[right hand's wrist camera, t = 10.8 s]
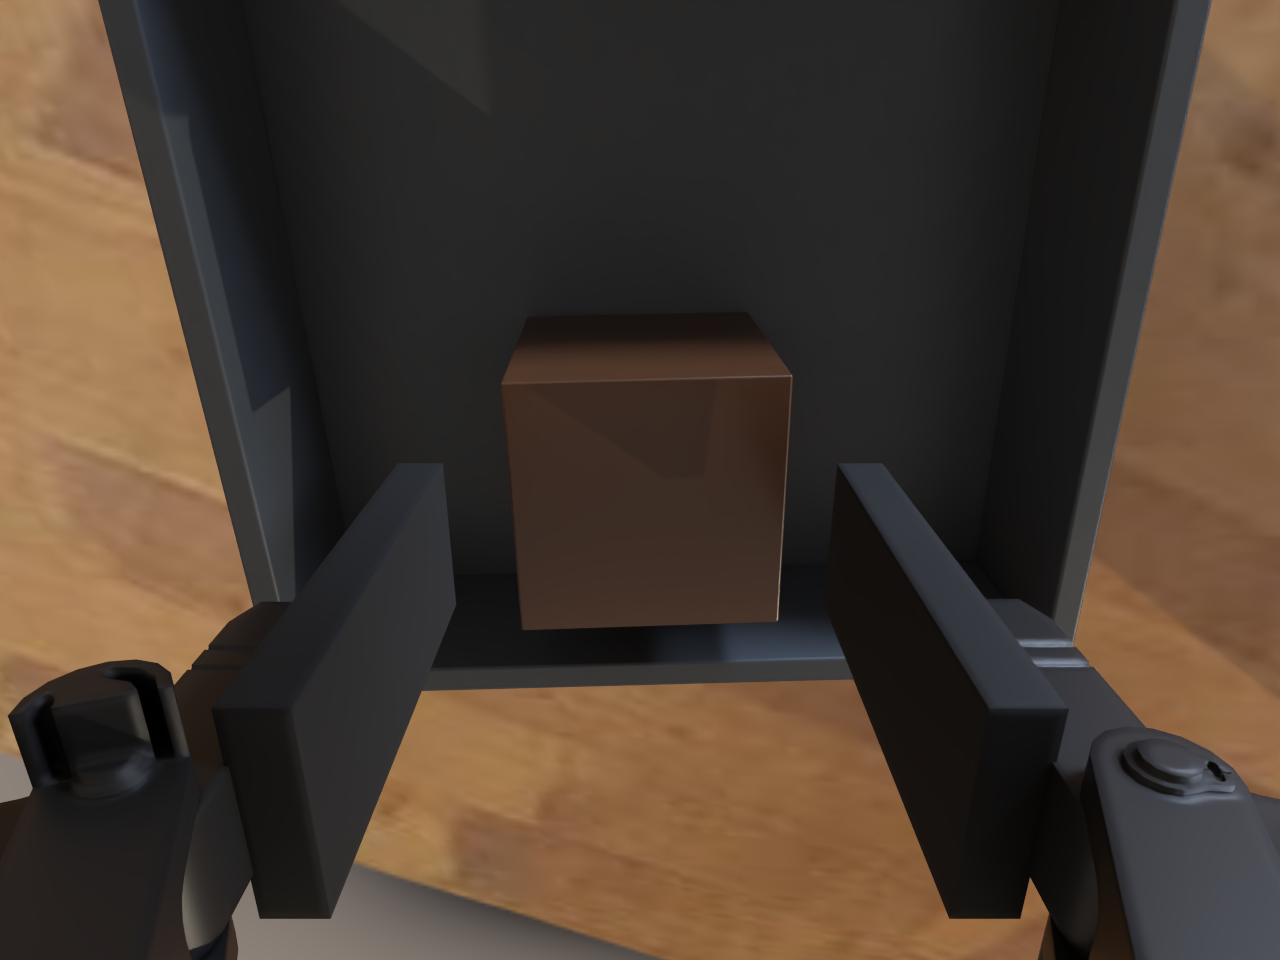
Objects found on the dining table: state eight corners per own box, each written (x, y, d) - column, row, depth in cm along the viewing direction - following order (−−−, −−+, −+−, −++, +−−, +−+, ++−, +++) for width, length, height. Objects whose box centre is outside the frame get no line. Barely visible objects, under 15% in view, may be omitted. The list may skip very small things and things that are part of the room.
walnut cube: (526, 316, 19) (499, 382, 14) (748, 311, 19) (793, 375, 14) (540, 517, 21) (521, 631, 16) (741, 510, 21) (778, 623, 16)
